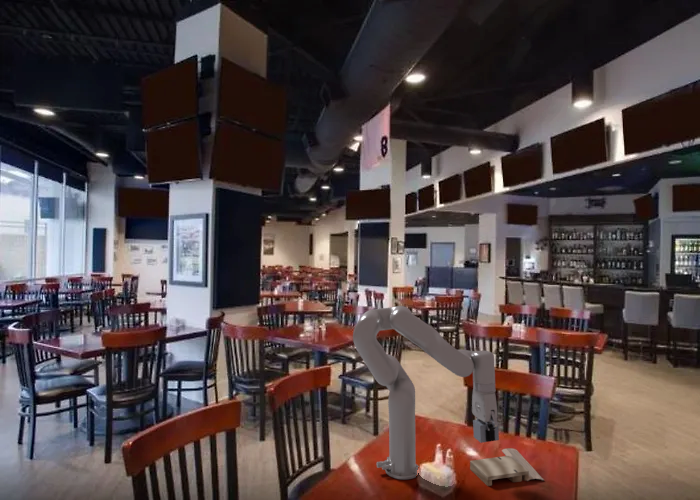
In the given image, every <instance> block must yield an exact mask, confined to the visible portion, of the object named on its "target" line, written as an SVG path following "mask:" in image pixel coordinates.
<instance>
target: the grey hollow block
mask: <svg viewBox="0 0 700 500" xmlns="http://www.w3.org/2000/svg"><path fill="white" fill-rule="evenodd" d="M490 420H491V419H490ZM490 424H492V423H489V426H490ZM472 425H473V426H472V428H473V438H474V439H476V440H477V441H478V442H479V443H480V444H481V443H487V441H486V430H487V428H486V423H485V422H483V421H481V420H477V419H473V420H472ZM499 433H500V430H499V425H498V426H496V428H495V441H499V440H500V437H499V435H500V434H499ZM495 441H494V442H495Z"/></svg>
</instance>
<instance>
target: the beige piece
mask: <svg viewBox="0 0 700 500" xmlns="http://www.w3.org/2000/svg"><path fill="white" fill-rule="evenodd" d="M501 452H502V453H503V454H504V456H510V457H511V458H512V459H514V460H515V461H516V462H518V463H519V464H520V465H522V466H523V467H524V468H526V469H527V470H528V471H529V478H528V479H527V480H526V482H529V481H530V480H535V479H536V480H541V481H542V482H545V479H544V478H543V477H542V476H541V475H540V473H538V472H537V471H536V469H535V468H534V467H533V466H532V465H531V464H530V463H529V462H528V461H527V459H525V458H524V456H523V455H522V454H521V452H519V451H518V450H517V449H516V448H503V449H501Z"/></svg>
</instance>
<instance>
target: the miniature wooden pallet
mask: <svg viewBox="0 0 700 500" xmlns="http://www.w3.org/2000/svg"><path fill="white" fill-rule="evenodd" d="M469 470H470V471H471V472H472V473H473V474H475V475H476V477H477V478H479V479H480V481H481V482H482V483H484V484H485V485H486V486H487V487H491V486H493V480H498V479H500V480H501V479H506V478H507V479H508V480H510V481H511V482H512V483H518V482H519V483H520V482H522V481H526V480H527V479H528V478H529V471H528V470H527V469H526V468H524V467H523V466H522V465H520V464H519V463H518V462H516V461H515V460H514V459H512V458H511V457H510V456H506V455H503V456H496V457H487V458H483V459H482V458H481V459H473V460H470V461H469ZM526 482H527V481H526Z"/></svg>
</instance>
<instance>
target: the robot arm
mask: <svg viewBox="0 0 700 500" xmlns="http://www.w3.org/2000/svg"><path fill="white" fill-rule="evenodd" d="M388 330H394V331H395V332H397V333H398V334H399V335H401V336H403V337H404V338H406V339H407V340H409V341H410V342H411V343H413V344H414V345H416V346H417V347H419V348H420V349H421V350H422V351H424V353H426V354H427V355H429V356H430V357H431V358H432V359H434V360H435V361H436V362H437V363H438V364H440V365H441V366H442V367H444V368H445V369H447V370H448V371H449V372H451V373H452V374H454V375H456V376H457V377H461V378H466V377H470V376H471V375H472V386H473V387H472V388H473V389H472V394H471V395H472V396H471V399H472V400H471V405H472V406H471V412H472V415H473V416H474V417H475V418H476V420H481V421H483V422H485V423H486V428H487V430H486V441H487V442H488V443H489V442H495V428H496V426H498V427H499V422H498V406H497V397H496V371H495V354H494V353H493V352H491V351H490V350H489V351H488V350H475V351H474V350H469V349H468V350H467V349H457V348H455V347H454V346H452V344H450V343H449V342H448V341H447V340H446V339H445V338H444V337H443V336H441V334H440V333H439V331H437V330H436V329H435V327H432V326H431V325H429V324H428V323H426V322H425V321H423V320H422V319H420V318H419V317H418V316H416V315H415V314H413V313H412V311H411V309H409V307H407V306H405V305H397V306H396V305H395V306H389V307H382V308H376V309H375V308H374V309H370V310H367V311H365V312H364V313H363V314H362V315H361V316H360V318H359V319H358V320H357V322H356V324H355V326H354V328H353V333H352V342H353V344H354V345H353V346H354V347H355V349H356V351H357V353H358V355H359V356H360V358H361V359H362V360H363V362H364V364H365V365H366V367H367V369H368V370H369V372H370V373H371V374H372V376H373V378H374V380H375V381H376V382H377V383H378V384H379V385H380V386H384V387H386V388H387V390H388V391H389V393H388V398H387V399H388V401H387V402H388V403H387V405H388V406H387V407H388V432H389V433H388V438H389V440H388V447H389V448H388V449H389V451H388V454H389V455H388V456H386V459H385V460H384V461H381V460H380V461H376V464H375V465H376V468H381V469H382V470H385V473H386V474H387V475H388V476H389V477H391V478H394V479H396V480H405V481H406V480H412V479H415V478H417V477H416V475H417V470H418V467H419V468H420V466H419V465H418V464H417V463H416V462H417V461H416V388H415V384H414V382H413V381H412V380H411V378H410V376H409V375H408V373H407V372H406V371H405V368H404V367H403V366H402V365H401V363H400V361H399V359H397V358H396V357H395V356H393V355H391V354H390V353H389V354H387V353H386V351H385V349H384V347H383V346H382V345H381V343H380V342H379V341H378V339H377V335H378V334H379V332H380V331H388ZM490 419H491V420H490ZM489 423H492V424H490V426H489ZM487 442H486V443H487Z"/></svg>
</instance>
